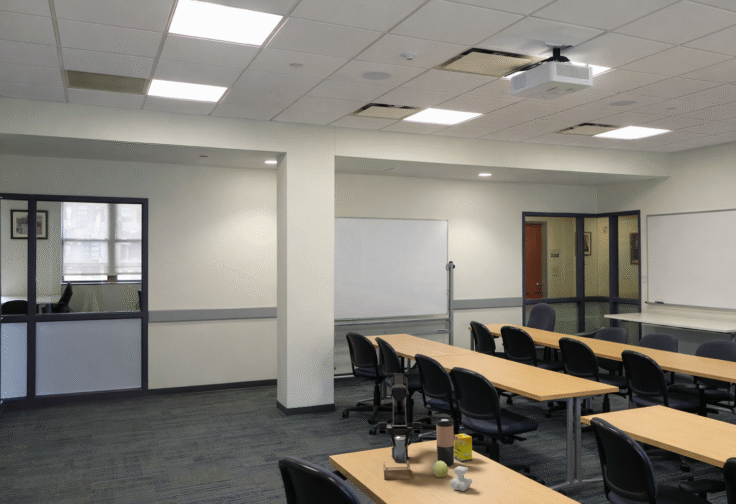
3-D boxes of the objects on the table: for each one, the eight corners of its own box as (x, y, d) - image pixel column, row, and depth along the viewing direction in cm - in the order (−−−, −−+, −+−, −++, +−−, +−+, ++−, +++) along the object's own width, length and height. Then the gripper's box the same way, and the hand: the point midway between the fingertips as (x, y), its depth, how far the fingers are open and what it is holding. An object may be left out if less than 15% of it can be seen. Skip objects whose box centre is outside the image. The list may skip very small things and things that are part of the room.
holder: (383, 470, 258) (383, 461, 258) (408, 469, 258) (408, 461, 258) (384, 479, 247) (384, 470, 247) (410, 478, 247) (410, 470, 247)
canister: (404, 458, 251) (403, 434, 251) (408, 462, 247) (407, 437, 246) (392, 460, 250) (392, 435, 250) (396, 464, 245) (396, 438, 245)
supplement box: (454, 458, 271) (453, 434, 271) (465, 456, 273) (464, 433, 274) (461, 462, 265) (460, 438, 266) (472, 460, 268) (471, 436, 268)
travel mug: (454, 461, 267) (453, 416, 268) (454, 467, 260) (453, 421, 260) (436, 461, 268) (435, 416, 269) (437, 467, 261) (436, 421, 261)
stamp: (458, 483, 241) (458, 463, 241) (473, 487, 237) (473, 466, 237) (448, 491, 233) (447, 469, 233) (463, 494, 229) (463, 472, 230)
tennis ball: (448, 458, 252) (433, 457, 253) (446, 466, 245) (430, 464, 247) (449, 472, 252) (433, 471, 254) (447, 480, 246) (431, 479, 248)
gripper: (420, 422, 263) (422, 455, 252) (378, 422, 264) (378, 455, 253) (421, 409, 255) (422, 443, 244) (377, 409, 256) (377, 443, 245)
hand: (400, 446), depth 247 cm, fingers closed on canister, 5 cm apart
